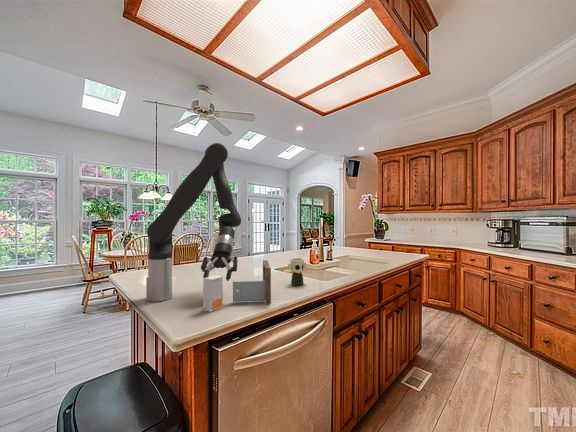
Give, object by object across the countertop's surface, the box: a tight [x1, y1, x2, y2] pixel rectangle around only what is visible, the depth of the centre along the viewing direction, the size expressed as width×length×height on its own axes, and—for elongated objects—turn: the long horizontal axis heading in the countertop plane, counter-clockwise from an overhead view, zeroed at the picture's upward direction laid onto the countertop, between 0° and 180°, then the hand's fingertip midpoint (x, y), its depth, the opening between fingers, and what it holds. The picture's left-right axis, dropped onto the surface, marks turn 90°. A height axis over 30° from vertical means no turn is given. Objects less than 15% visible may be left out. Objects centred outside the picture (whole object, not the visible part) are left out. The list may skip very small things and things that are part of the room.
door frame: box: [262, 259, 272, 305], centre depth 112 cm, size 2×19×14 cm, turn 9°
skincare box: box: [202, 274, 224, 313], centre depth 98 cm, size 6×4×12 cm
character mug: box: [287, 257, 307, 286], centre depth 132 cm, size 11×7×13 cm, turn 119°
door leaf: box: [232, 280, 266, 303], centre depth 104 cm, size 3×14×8 cm, turn 94°
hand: (216, 279), depth 102 cm, fingers open, 8 cm apart
